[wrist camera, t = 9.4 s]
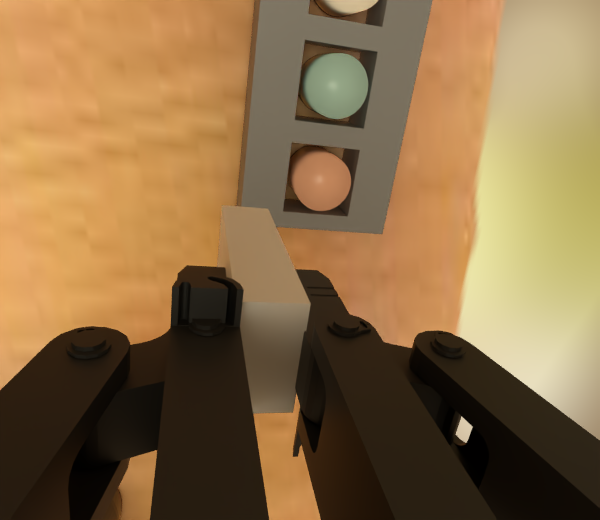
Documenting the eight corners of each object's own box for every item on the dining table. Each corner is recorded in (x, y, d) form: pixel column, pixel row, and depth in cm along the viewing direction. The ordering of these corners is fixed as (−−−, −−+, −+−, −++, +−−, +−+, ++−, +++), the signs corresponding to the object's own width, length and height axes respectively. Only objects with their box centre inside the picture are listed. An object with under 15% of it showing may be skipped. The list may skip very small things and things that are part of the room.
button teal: (294, 109, 37) (304, 115, 33) (301, 49, 35) (313, 48, 32) (346, 116, 38) (361, 122, 34) (356, 58, 36) (373, 58, 33)
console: (236, 209, 40) (239, 224, 36) (263, -99, 32) (271, -119, 28) (366, 219, 43) (382, 234, 39) (422, -62, 35) (448, -76, 31)
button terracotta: (283, 195, 40) (291, 208, 36) (290, 142, 38) (299, 151, 34) (332, 199, 41) (345, 213, 37) (341, 148, 39) (355, 157, 35)
